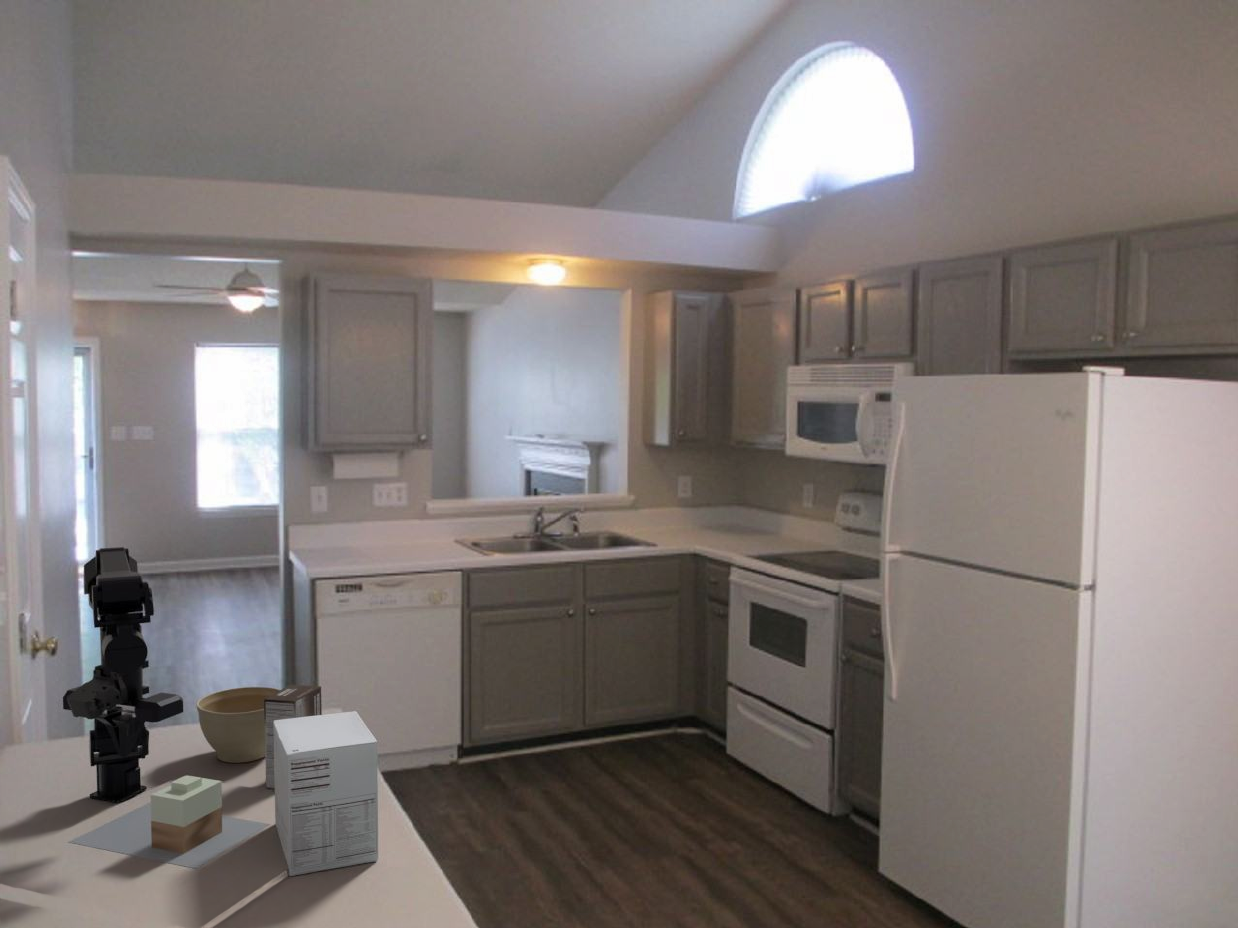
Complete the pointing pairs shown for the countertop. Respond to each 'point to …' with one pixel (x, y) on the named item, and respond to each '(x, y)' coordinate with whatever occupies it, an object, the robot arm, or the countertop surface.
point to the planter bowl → (235, 722)
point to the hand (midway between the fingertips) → (124, 756)
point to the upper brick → (186, 800)
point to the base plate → (135, 840)
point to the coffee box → (287, 716)
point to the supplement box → (326, 791)
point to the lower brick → (186, 833)
